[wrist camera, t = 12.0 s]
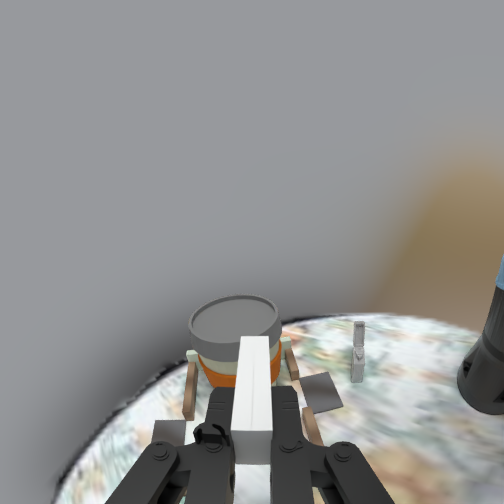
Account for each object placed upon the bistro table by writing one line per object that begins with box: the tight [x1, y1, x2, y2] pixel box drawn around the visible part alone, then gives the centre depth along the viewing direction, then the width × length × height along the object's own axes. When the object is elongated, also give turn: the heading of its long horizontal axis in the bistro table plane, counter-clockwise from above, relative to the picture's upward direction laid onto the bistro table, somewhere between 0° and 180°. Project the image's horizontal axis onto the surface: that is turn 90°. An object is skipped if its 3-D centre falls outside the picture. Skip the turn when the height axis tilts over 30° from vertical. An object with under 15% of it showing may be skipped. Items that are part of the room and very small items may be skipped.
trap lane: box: [151, 348, 343, 496], centre depth 36 cm, size 27×28×2 cm
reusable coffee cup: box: [188, 294, 282, 388], centre depth 39 cm, size 13×13×15 cm
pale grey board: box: [186, 336, 291, 370], centre depth 47 cm, size 1×18×4 cm, turn 96°
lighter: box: [351, 321, 365, 383], centre depth 41 cm, size 7×2×8 cm, turn 164°
